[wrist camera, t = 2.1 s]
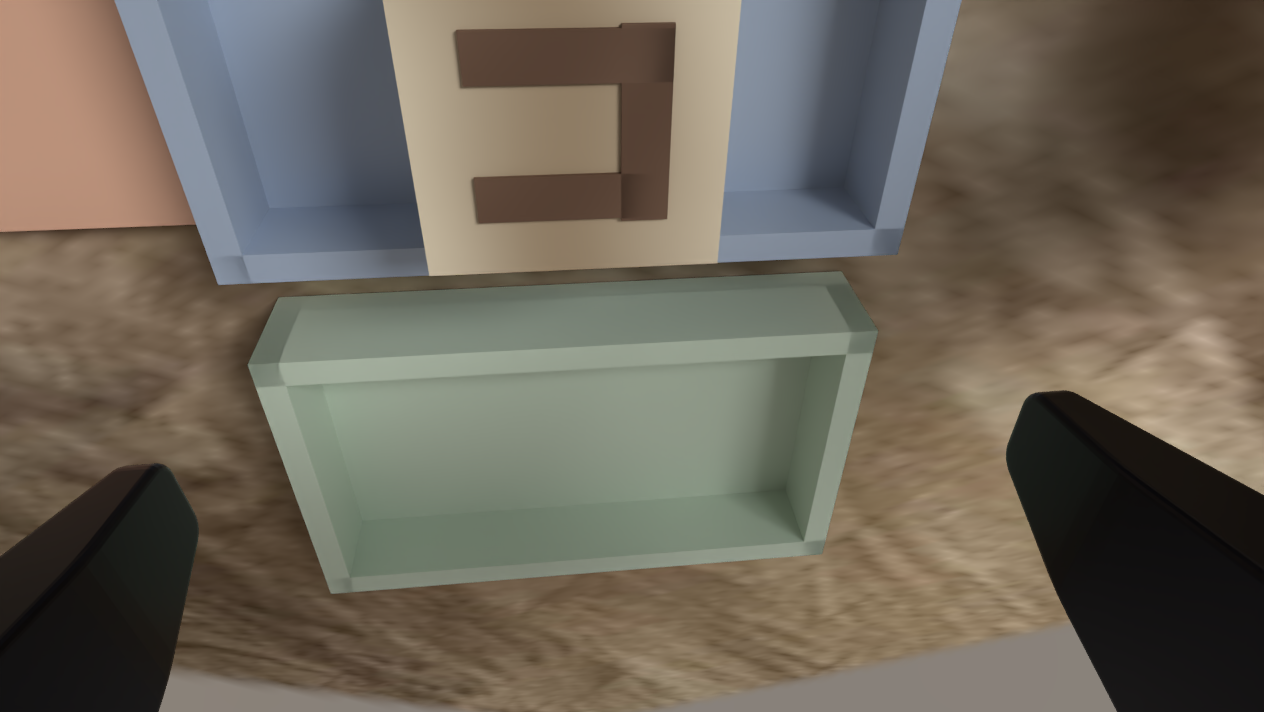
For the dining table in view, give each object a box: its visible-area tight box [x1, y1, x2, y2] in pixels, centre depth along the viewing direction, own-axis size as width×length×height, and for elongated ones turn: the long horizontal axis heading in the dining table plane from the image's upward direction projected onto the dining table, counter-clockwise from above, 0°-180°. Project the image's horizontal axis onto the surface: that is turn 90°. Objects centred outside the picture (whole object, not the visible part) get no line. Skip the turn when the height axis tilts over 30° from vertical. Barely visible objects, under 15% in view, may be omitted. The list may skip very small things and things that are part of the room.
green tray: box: [248, 271, 878, 594], centre depth 20 cm, size 13×8×2 cm, turn 89°
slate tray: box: [114, 0, 962, 285], centre depth 14 cm, size 13×8×2 cm, turn 89°
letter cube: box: [383, 0, 742, 276], centre depth 13 cm, size 4×4×5 cm
